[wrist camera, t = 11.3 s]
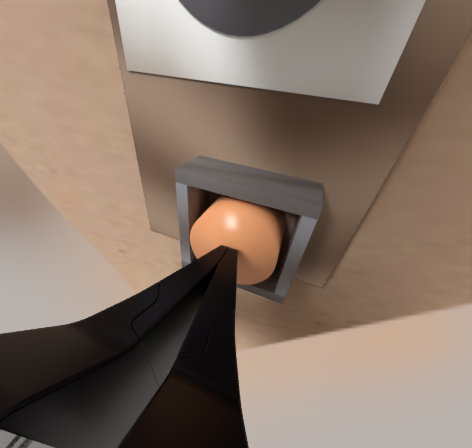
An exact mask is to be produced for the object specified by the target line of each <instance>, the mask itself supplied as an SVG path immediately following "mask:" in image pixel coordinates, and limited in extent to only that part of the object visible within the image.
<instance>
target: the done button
mask: <svg viewBox="0 0 472 448" xmlns="http://www.w3.org/2000/svg"><path fill="white" fill-rule="evenodd" d="M285 228H286V217H285V213H284V211H283V210H279V209H275V208H271V207H267V206H264V205H260V204H256V203H252V202H249V201H245V200H241V199H237V198H233V197H230V196H226V195H222V194H221V195H220V197H219V198H218V199H217V200H216V201H215V202H214V203H213V204H212V205H211V206H210V207H209V208H208V209H207V210H206V211H205V212H204V213H203V215H202V216H201V217H200V218H199V219H198V220H197V221H196V222H195V223H194V225H193V226H192V229H191V232H190V243H191V247H192V250H193V252H194V254H195V256H196V258H197V259H198V258H200V257H202V256H203V255H205V254H207V253H208V252H210V251H212V250H213V249H215V248H217V247H218V246H220V245H224V246H227V247H229V248H233V249H236V250H238V264H237V284H242V285H250V284H256V283H259V282H262V281H264V280H266V279H267V278H268V277H269V276H270V275H271V274H272V273H273V271H274V269H275V267H276V263H277V259H278V255H279V251H280V247H281V243H282V240H283V236H284V232H285Z"/></svg>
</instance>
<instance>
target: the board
mask: <svg viewBox="0 0 472 448" xmlns="http://www.w3.org/2000/svg"><path fill="white" fill-rule="evenodd" d="M107 2H108V7H109V12H110V17H111V23H112V28H113V33H114V39H115V44H116V49H117V54H118V60H119V65H120V70H121V75H122V81H123V86H124V91H125V97H126V102H127V107H128V112H129V118H130V123H131V128H132V134H133V139H134V144H135V149H136V155H137V160H138V165H139V171H140V176H141V181H142V186H143V192H144V197H145V202H146V208H147V213H148V218H149V223H150V229H151V231H154V232H157V233H160V234H163V235H166V236H169V237H172V238H175V239H178V240H180V244H181V256H182V267H185V266H186V265H188V264H190V263H191V262H193V261H195V260H196V259H197V258H196V256H195V254H194V252H193V250H192V247H191V243H190V232H191V229H192V226H193V225H194V223H195V222H196V221H197V220H198V219H199V218H200V217H201V216H202V215H203V213H204V212H205V211H206V210H207V209H208V208H209V207H210V206H211V205H212V204H213V203H214V202H215V201H216V200H217V199H218V198H219V197H220V195H221V194H222V195H226V196H230V197H233V198H237V199H241V200H245V201H249V202H252V203H256V204H260V205H264V206H267V207H271V208H275V209H279V210H283V211H284V213H285V217H286V228H285V232H284V236H283V240H282V243H281V247H280V251H279V255H278V259H277V263H276V267H275V269H274V271H273V273H272V274H271V275H270V276H269V277H268V278H267V279H266V280H264V281H262V282H259V283H256V284H250V285H242V284H237V286H236V287H238V288H241V289H244V290H246V291H249V292H252V293H255V294H257V295H260V296H263V297H266V298H268V299H271V300H274V301H276V302H279V303H283V301H284V298H285V296H286V294H287V291H288V289H289V287H290V284H291V282H292V279H293V278H294V279H297V280H300V281H303V282H306V283H309V284H312V285H315V286H318V287H321V288H322V287H323V286H324V284H325V282H326V281H327V279H328V277H329V275H330V274H331V272H332V270H333V268H334V267H335V265H336V263H337V262H338V260H339V258H340V256H341V255H342V253H343V251H344V250H345V248H346V246H347V244H348V243H349V241H350V239H351V237H352V236H353V234H354V232H355V231H356V229H357V227H358V225H359V224H360V222H361V220H362V219H363V217H364V215H365V213H366V212H367V210H368V208H369V206H370V205H371V203H372V201H373V200H374V198H375V196H376V194H377V193H378V191H379V189H380V188H381V186H382V184H383V182H384V181H385V179H386V177H387V175H388V174H389V172H390V170H391V169H392V167H393V165H394V163H395V162H396V160H397V158H398V157H399V155H400V153H401V151H402V150H403V148H404V146H405V144H406V143H407V141H408V139H409V138H410V136H411V134H412V132H413V131H414V129H415V127H416V125H417V124H418V122H419V120H420V119H421V117H422V115H423V113H424V112H425V110H426V108H427V107H428V105H429V103H430V101H431V100H432V98H433V96H434V94H435V93H436V91H437V89H438V88H439V86H440V84H441V82H442V81H443V79H444V77H445V76H446V74H447V72H448V70H449V69H450V67H451V65H452V63H453V62H454V60H455V58H456V57H457V55H458V53H459V51H460V50H461V48H462V46H463V45H464V43H465V41H466V39H467V38H468V36H469V34H470V32H471V31H472V0H107Z"/></svg>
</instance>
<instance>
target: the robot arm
mask: <svg viewBox="0 0 472 448" xmlns="http://www.w3.org/2000/svg"><path fill="white" fill-rule="evenodd" d="M237 264H238V250H236V249H233V248H229V247H227V246H224V245H220V246H218V247H217V248H215V249H213V250H212V251H210V252H208V253H207V254H205V255H203V256H202V257H200V258H198V259H196V260H195V261H193V262H191V263H190V264H188V265H186V266H185V267H183V268H181V269H179V270H178V271H176V272H174V273H173V274H171V275H169V276H168V277H166V278H164V279H162V280H161V281H160V282H157V283H156V284H154V285H152V286H150V287H149V288H147V289H145V290H143V291H142V292H140V293H138V294H136V295H134V296H132V297H130V298H128V299H126V300H124V301H122V302H120V303H118V304H115V305H113V306H111V307H109V308H107V309H105V310H103V311H101V312H99V313H97V314H95V315H93V316H91V317H88V318H86V319H83V320H80V321H78V322H74V323H70V324H67V325H60V326H53V327H46V328H39V329H31V330H24V331H17V332H11V333H3V334H0V448H249V447H248V442H247V437H246V432H245V426H244V420H243V414H242V408H241V400H240V391H239V380H238V369H237V359H236V345H235V308H236V286H237ZM168 373H169V374H168Z"/></svg>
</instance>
